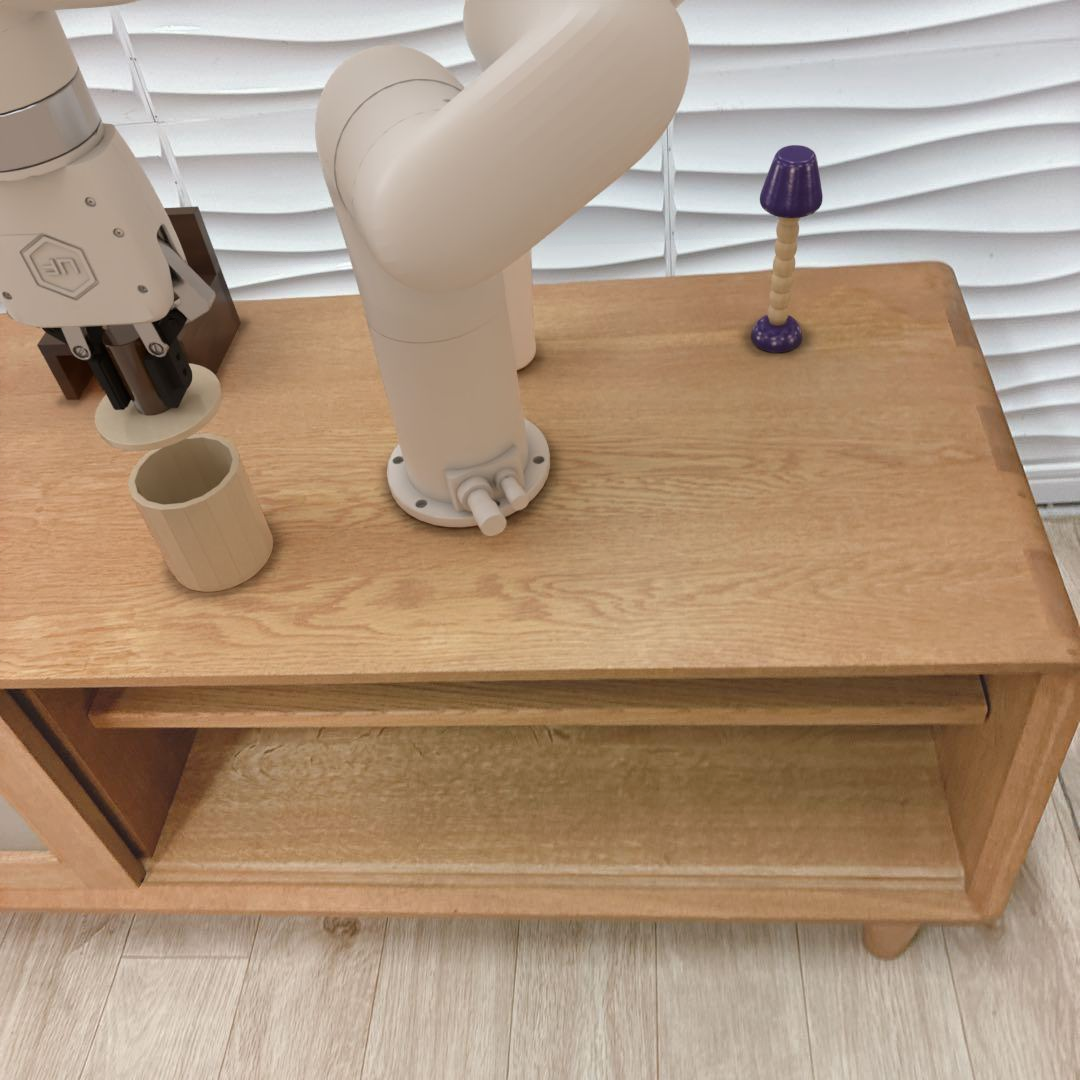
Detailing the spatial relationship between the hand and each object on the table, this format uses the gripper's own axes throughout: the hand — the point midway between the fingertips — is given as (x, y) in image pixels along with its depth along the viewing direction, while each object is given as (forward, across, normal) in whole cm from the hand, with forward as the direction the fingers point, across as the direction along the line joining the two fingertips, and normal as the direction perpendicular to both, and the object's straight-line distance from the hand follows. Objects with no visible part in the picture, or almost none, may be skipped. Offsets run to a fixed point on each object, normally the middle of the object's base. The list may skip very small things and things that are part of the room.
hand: (153, 393), depth 69 cm
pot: (+15, 0, 0) cm, 15 cm away
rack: (+15, -14, +24) cm, 32 cm away
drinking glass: (+16, +18, +23) cm, 33 cm away
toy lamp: (+16, +42, +24) cm, 51 cm away
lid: (+1, 0, 0) cm, 1 cm away
